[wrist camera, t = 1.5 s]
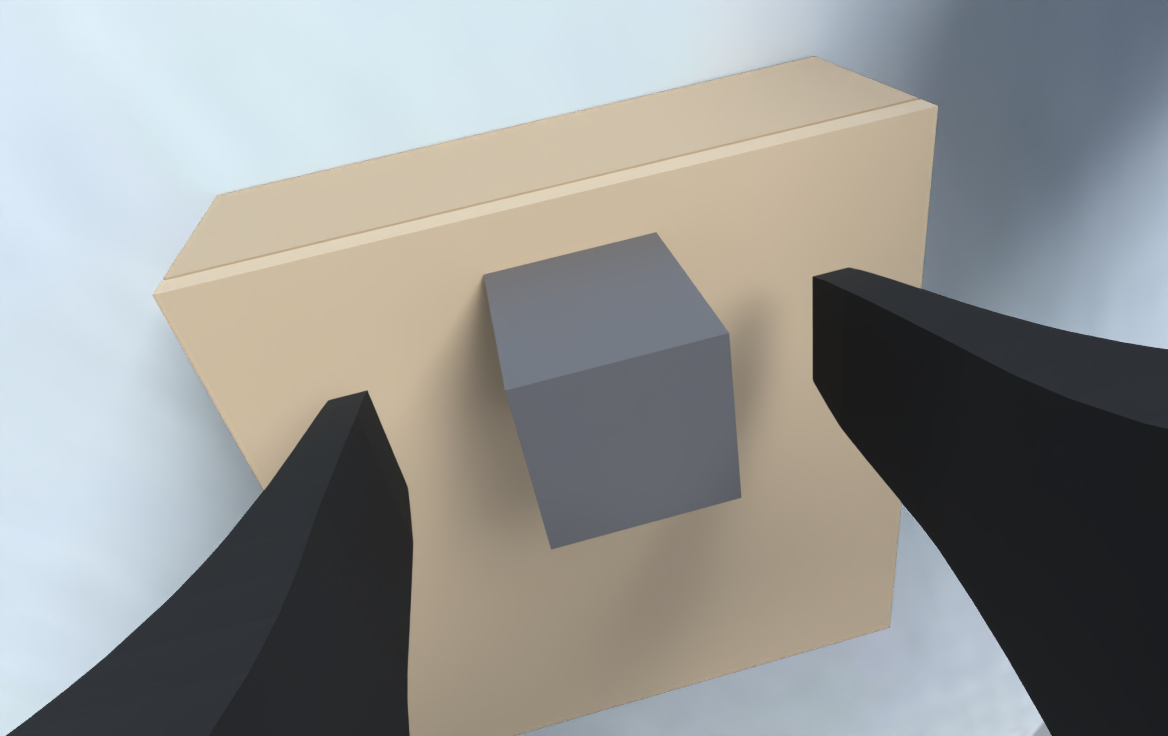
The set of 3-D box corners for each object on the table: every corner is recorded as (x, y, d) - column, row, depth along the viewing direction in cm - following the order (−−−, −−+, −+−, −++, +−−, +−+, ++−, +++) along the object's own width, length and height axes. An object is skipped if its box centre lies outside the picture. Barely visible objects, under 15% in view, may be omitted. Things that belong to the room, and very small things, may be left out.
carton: (814, 56, 16) (917, 97, 13) (813, 511, 24) (878, 609, 21) (217, 195, 15) (163, 278, 12) (417, 620, 23) (418, 741, 20)
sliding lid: (920, 99, 13) (1099, 170, 9) (880, 612, 21) (970, 750, 17) (161, 281, 12) (64, 430, 9) (418, 745, 20) (420, 916, 16)
